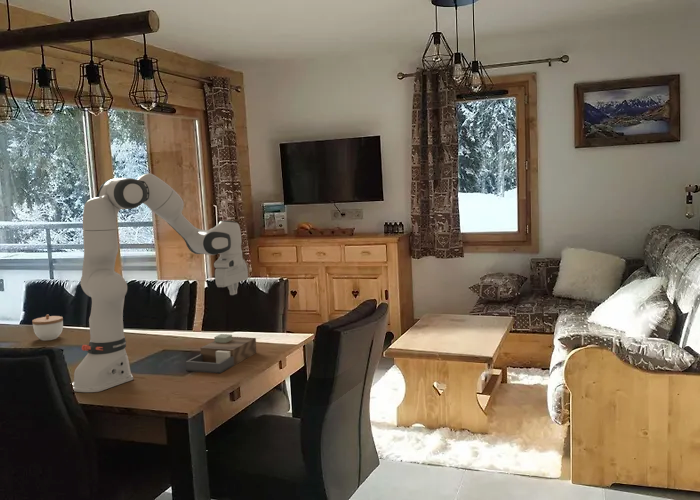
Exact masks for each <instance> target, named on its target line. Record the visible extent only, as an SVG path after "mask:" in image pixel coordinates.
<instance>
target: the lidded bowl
mask: <svg viewBox="0 0 700 500" xmlns="http://www.w3.org/2000/svg"><path fill="white" fill-rule="evenodd" d="M31 323H32V328H33V333H34V335H35V336H36V337H37V338H38V339H39V340H40V341H53V340H56V339H58V338H59V337H60V336H61V334H62V332H63V327H64V318H63V316H62V315H61V316H60V315H51V316H50V315H49V314H46V315H45V316H41V317H37V318H34V319H32V321H31Z"/></svg>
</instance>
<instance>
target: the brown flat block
mask: <svg viewBox="0 0 700 500" xmlns="http://www.w3.org/2000/svg"><path fill="white" fill-rule="evenodd" d="M199 350H200V354H203V362H214V363H216V351H218V350H220V351H230V357H231V356H233V358H234V366H236V365H237V364H239V363H241V362H242V361H244V360H246V359H248V358H251V356H254V355H255V354H257V353H258V352H257V338H256V337H247V336H246V337H244V336H243V337H242V336H232V340H231V341H229V342H227V343H220V342H215V341H214V340H213V341H211V342H210V343H207V344H205V345H203V346H201V347H200V349H199Z"/></svg>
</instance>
